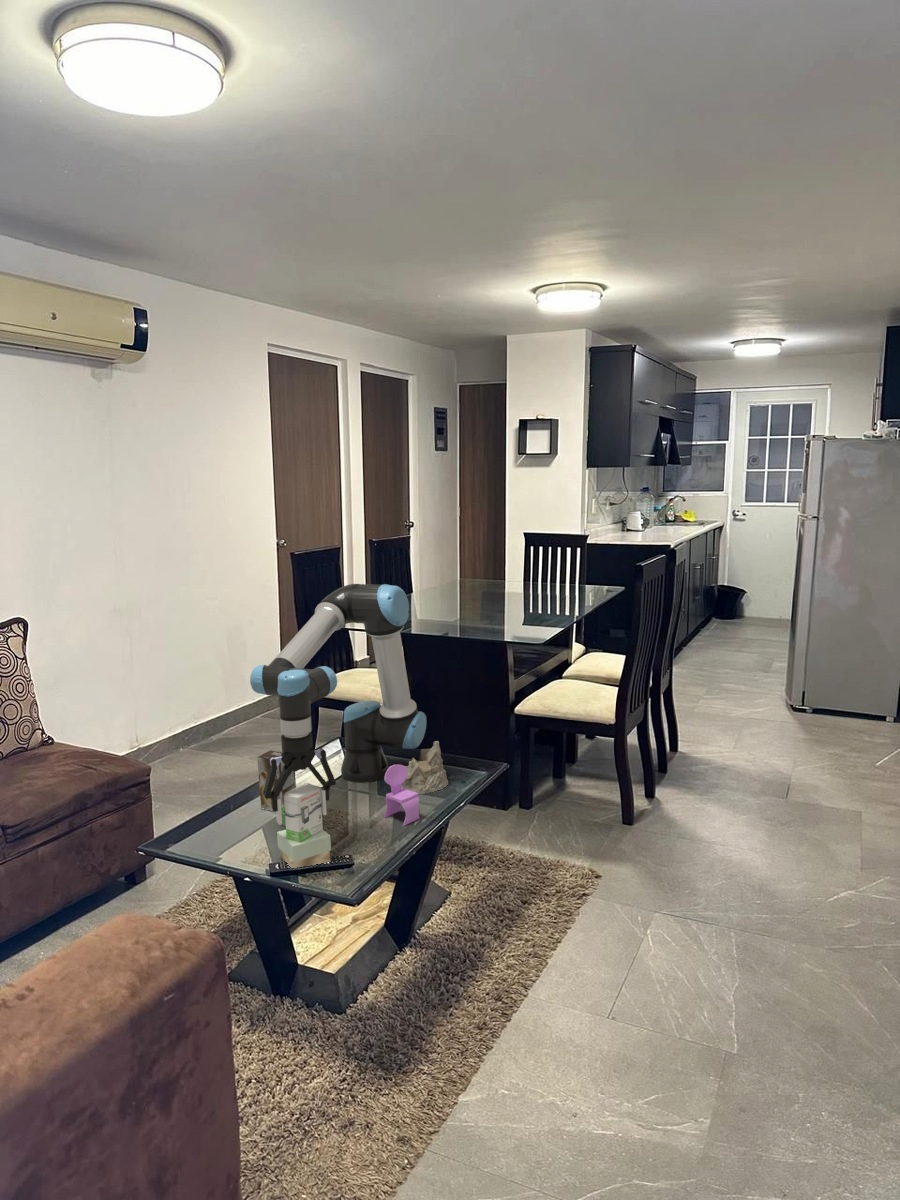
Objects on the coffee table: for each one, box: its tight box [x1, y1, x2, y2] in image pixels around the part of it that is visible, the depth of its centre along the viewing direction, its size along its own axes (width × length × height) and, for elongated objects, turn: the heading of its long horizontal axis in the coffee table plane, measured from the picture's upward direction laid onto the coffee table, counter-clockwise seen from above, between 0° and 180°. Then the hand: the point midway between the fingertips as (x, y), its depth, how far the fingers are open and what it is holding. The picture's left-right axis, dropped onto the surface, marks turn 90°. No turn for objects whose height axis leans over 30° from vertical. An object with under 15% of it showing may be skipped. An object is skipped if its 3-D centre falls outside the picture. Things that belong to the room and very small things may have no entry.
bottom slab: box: [279, 848, 331, 868], centre depth 205 cm, size 10×10×4 cm
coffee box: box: [256, 750, 297, 813], centre depth 236 cm, size 9×6×16 cm
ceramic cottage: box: [401, 740, 449, 795], centre depth 251 cm, size 16×16×15 cm
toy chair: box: [382, 764, 421, 827], centre depth 227 cm, size 8×9×15 cm
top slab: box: [276, 829, 332, 862], centre depth 205 cm, size 10×10×4 cm
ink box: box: [284, 782, 324, 842], centre depth 203 cm, size 9×5×12 cm, turn 147°
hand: (301, 817), depth 204 cm, fingers open, 11 cm apart
